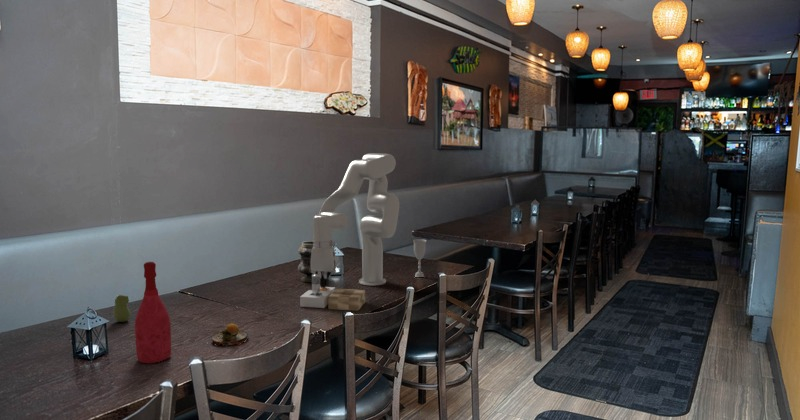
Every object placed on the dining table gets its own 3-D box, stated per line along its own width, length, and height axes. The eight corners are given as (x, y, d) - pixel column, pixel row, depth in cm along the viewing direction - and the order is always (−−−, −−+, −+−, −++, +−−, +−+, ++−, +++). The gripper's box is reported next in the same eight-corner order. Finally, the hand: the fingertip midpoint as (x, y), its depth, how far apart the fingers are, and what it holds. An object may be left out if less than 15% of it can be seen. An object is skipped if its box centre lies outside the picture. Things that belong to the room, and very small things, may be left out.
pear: (111, 322, 203) (109, 295, 202) (124, 318, 208) (122, 291, 206) (120, 325, 200) (119, 297, 199) (134, 320, 205) (132, 294, 204)
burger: (234, 332, 194) (234, 311, 194) (255, 340, 187) (255, 318, 186) (203, 341, 185) (202, 320, 184) (224, 350, 178) (223, 327, 177)
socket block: (314, 294, 241) (314, 285, 241) (337, 295, 239) (337, 286, 239) (300, 306, 224) (300, 296, 223) (324, 307, 222) (324, 298, 221)
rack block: (337, 300, 232) (337, 288, 232) (365, 301, 230) (365, 290, 230) (328, 308, 220) (328, 296, 220) (358, 310, 218) (357, 298, 218)
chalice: (425, 279, 268) (425, 242, 266) (411, 278, 269) (411, 241, 267) (427, 275, 275) (427, 239, 273) (413, 274, 277) (414, 238, 274)
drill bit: (313, 302, 229) (313, 273, 228) (321, 302, 229) (321, 274, 227) (311, 304, 226) (310, 275, 225) (318, 305, 226) (318, 275, 224)
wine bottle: (143, 352, 175) (138, 258, 171) (176, 352, 175) (171, 258, 172) (131, 365, 165) (125, 266, 161) (165, 364, 166) (160, 265, 162)
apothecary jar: (328, 280, 265) (327, 243, 262) (304, 284, 258) (304, 245, 256) (316, 275, 275) (316, 239, 272) (294, 278, 268) (293, 241, 266)
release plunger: (320, 293, 238) (320, 287, 238) (328, 294, 238) (328, 287, 237) (317, 296, 235) (317, 289, 234) (325, 296, 234) (325, 289, 234)
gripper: (342, 243, 236) (343, 285, 238) (308, 242, 238) (309, 283, 241) (337, 246, 229) (338, 290, 231) (302, 245, 231) (303, 288, 234)
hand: (323, 286), depth 236 cm, fingers closed
